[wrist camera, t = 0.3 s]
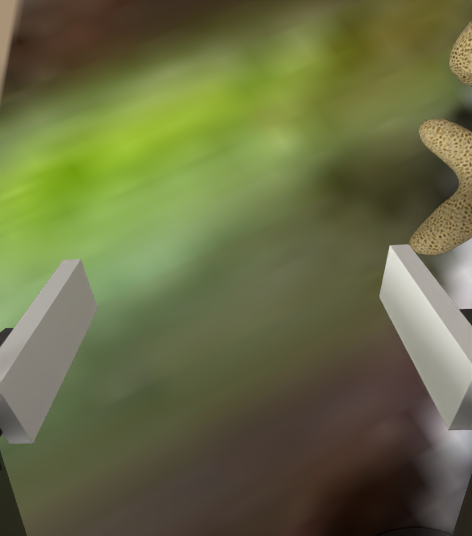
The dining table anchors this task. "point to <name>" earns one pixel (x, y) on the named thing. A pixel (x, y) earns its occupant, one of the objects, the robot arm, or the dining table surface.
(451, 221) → the decorative coral
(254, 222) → the dining table surface
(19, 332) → the robot arm
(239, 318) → the dining table surface
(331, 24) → the dining table surface
